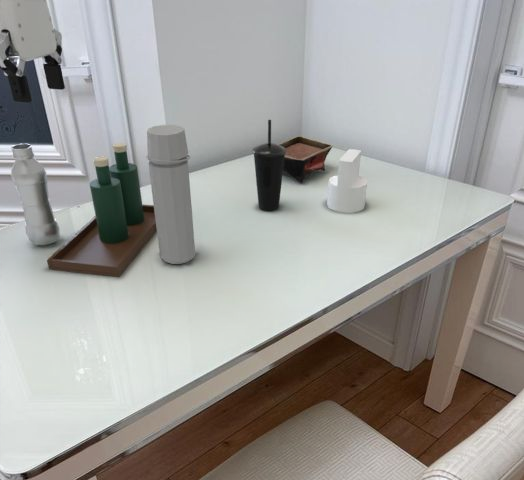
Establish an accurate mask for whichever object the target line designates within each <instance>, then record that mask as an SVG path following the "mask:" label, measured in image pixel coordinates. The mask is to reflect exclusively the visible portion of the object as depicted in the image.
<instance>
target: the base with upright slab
mask: <svg viewBox="0 0 524 480" xmlns="http://www.w3.org/2000/svg"><path fill="white" fill-rule="evenodd" d="M361 157H362V150H360V149H354V148H348V149H347V151H346V152H345V153H344V154H343V155H342V156H341V157H340V158H339V160H338V171H337V174H336V175H333V176H331V177H330V178H329V179H328V188H327V202H326V204H327V205H326V206H327V207H328V208H329V209H330V210H332V211H334V212H336V213H337V212H338V213H343V214H353V213H358V212H361V211H363V210H364V209H365V205H366V199H367V198H366V197H367V188H368V180H367V179H366V178H365V177H363V176H360V167H361Z"/></svg>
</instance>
